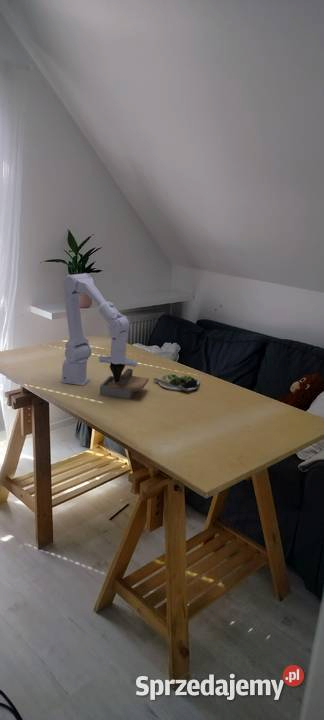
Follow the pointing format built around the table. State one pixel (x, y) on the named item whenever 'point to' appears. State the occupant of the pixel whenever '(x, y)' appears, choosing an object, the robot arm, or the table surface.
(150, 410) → the table surface
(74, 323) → the robot arm
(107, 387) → the storage box
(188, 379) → the salad plate
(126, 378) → the lid
